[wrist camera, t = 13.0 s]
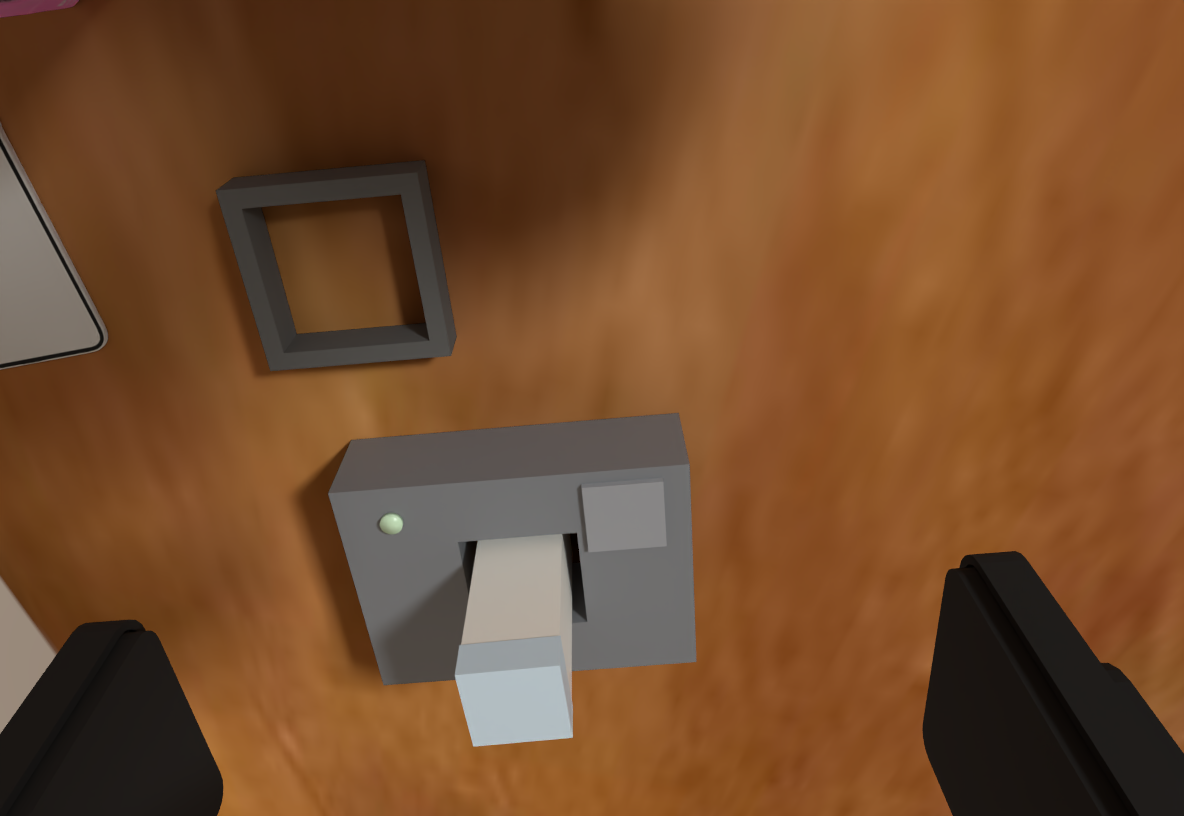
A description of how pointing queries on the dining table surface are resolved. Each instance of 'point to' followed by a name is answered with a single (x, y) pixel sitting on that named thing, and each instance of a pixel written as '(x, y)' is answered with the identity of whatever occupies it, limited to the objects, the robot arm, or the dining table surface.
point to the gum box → (32, 6)
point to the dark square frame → (266, 286)
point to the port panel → (522, 535)
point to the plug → (518, 641)
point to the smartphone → (38, 279)
